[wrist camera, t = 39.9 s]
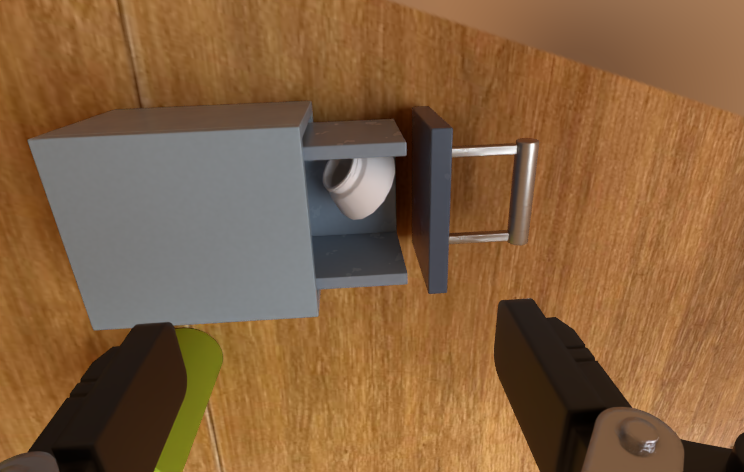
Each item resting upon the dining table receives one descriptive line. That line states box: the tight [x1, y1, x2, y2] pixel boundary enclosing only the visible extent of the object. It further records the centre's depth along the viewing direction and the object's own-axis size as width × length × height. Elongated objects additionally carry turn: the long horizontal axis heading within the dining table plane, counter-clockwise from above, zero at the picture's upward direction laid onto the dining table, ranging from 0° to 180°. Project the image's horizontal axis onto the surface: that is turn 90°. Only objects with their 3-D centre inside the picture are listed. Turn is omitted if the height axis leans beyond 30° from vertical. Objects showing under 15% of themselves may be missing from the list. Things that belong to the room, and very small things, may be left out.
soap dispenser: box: [154, 328, 223, 472], centre depth 31 cm, size 6×7×20 cm
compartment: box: [302, 106, 539, 294], centre depth 30 cm, size 19×10×8 cm, turn 92°
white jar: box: [323, 157, 395, 220], centre depth 29 cm, size 5×3×5 cm, turn 148°
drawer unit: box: [28, 101, 321, 330], centre depth 30 cm, size 14×12×10 cm
